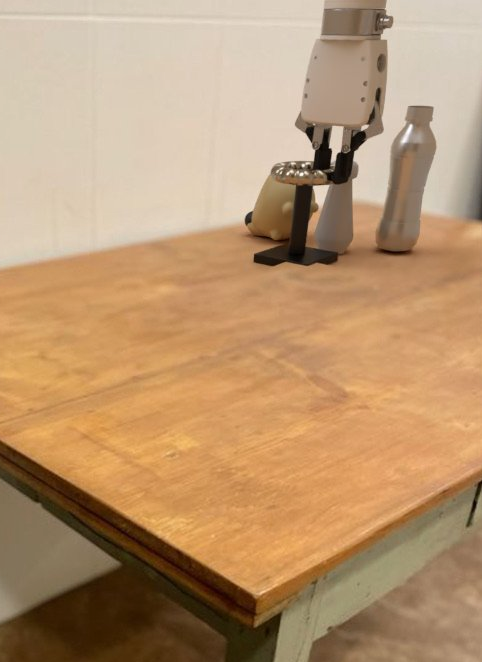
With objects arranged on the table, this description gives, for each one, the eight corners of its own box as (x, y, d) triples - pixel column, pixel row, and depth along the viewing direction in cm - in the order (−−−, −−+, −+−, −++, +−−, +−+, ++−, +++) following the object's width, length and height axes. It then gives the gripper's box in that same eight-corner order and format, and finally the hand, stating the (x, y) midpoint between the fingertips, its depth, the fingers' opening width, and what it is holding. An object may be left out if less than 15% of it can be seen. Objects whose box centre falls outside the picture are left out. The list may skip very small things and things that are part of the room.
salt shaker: (304, 251, 126) (316, 160, 119) (326, 245, 129) (338, 156, 122) (336, 258, 122) (350, 164, 116) (358, 251, 126) (372, 160, 119)
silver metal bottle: (365, 251, 126) (389, 107, 115) (383, 243, 130) (408, 103, 120) (405, 258, 122) (433, 109, 112) (423, 249, 127) (452, 106, 116)
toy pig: (296, 256, 137) (274, 204, 140) (337, 209, 127) (312, 153, 129) (248, 261, 133) (226, 207, 136) (285, 213, 123) (261, 155, 125)
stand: (337, 260, 121) (349, 180, 115) (306, 272, 115) (317, 189, 110) (285, 250, 126) (294, 173, 120) (253, 262, 121) (260, 181, 115)
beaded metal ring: (355, 180, 115) (357, 164, 114) (318, 189, 109) (320, 173, 108) (294, 172, 121) (295, 157, 120) (256, 181, 115) (257, 165, 114)
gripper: (425, 26, 101) (397, 185, 110) (310, 25, 110) (294, 172, 119) (398, 27, 96) (371, 193, 106) (281, 26, 105) (266, 178, 115)
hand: (330, 180), depth 112 cm, fingers closed on beaded metal ring, 2 cm apart
